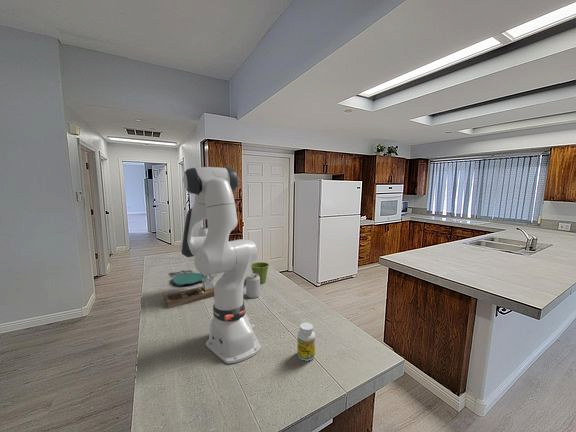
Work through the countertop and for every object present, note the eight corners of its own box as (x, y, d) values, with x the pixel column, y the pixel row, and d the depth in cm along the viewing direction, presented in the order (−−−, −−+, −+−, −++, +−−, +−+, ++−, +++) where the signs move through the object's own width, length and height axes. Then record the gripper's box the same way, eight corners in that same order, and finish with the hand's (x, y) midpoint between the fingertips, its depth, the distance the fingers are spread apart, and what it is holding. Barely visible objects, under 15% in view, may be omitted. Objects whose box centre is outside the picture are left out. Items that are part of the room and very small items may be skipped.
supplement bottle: (316, 352, 90) (317, 323, 89) (312, 363, 84) (312, 332, 83) (300, 348, 92) (300, 319, 91) (294, 358, 86) (295, 328, 85)
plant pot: (270, 278, 161) (270, 262, 159) (267, 286, 149) (267, 268, 148) (253, 278, 162) (252, 261, 161) (248, 285, 150) (248, 267, 149)
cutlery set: (175, 289, 142) (175, 286, 142) (165, 275, 166) (165, 272, 166) (209, 282, 154) (209, 279, 154) (195, 270, 178) (195, 267, 178)
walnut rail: (219, 295, 136) (219, 290, 136) (168, 308, 121) (168, 302, 120) (212, 288, 145) (212, 283, 145) (163, 299, 129) (163, 294, 129)
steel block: (213, 294, 137) (213, 280, 136) (205, 296, 134) (204, 282, 134) (210, 291, 141) (210, 277, 140) (202, 293, 138) (202, 279, 137)
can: (257, 299, 131) (257, 277, 130) (244, 297, 133) (244, 276, 132) (261, 293, 139) (261, 273, 137) (249, 292, 140) (249, 272, 139)
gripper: (219, 259, 129) (220, 284, 130) (207, 251, 145) (208, 274, 147) (207, 261, 125) (208, 287, 126) (196, 253, 141) (197, 276, 143)
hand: (208, 280), depth 137 cm, fingers open, 8 cm apart
